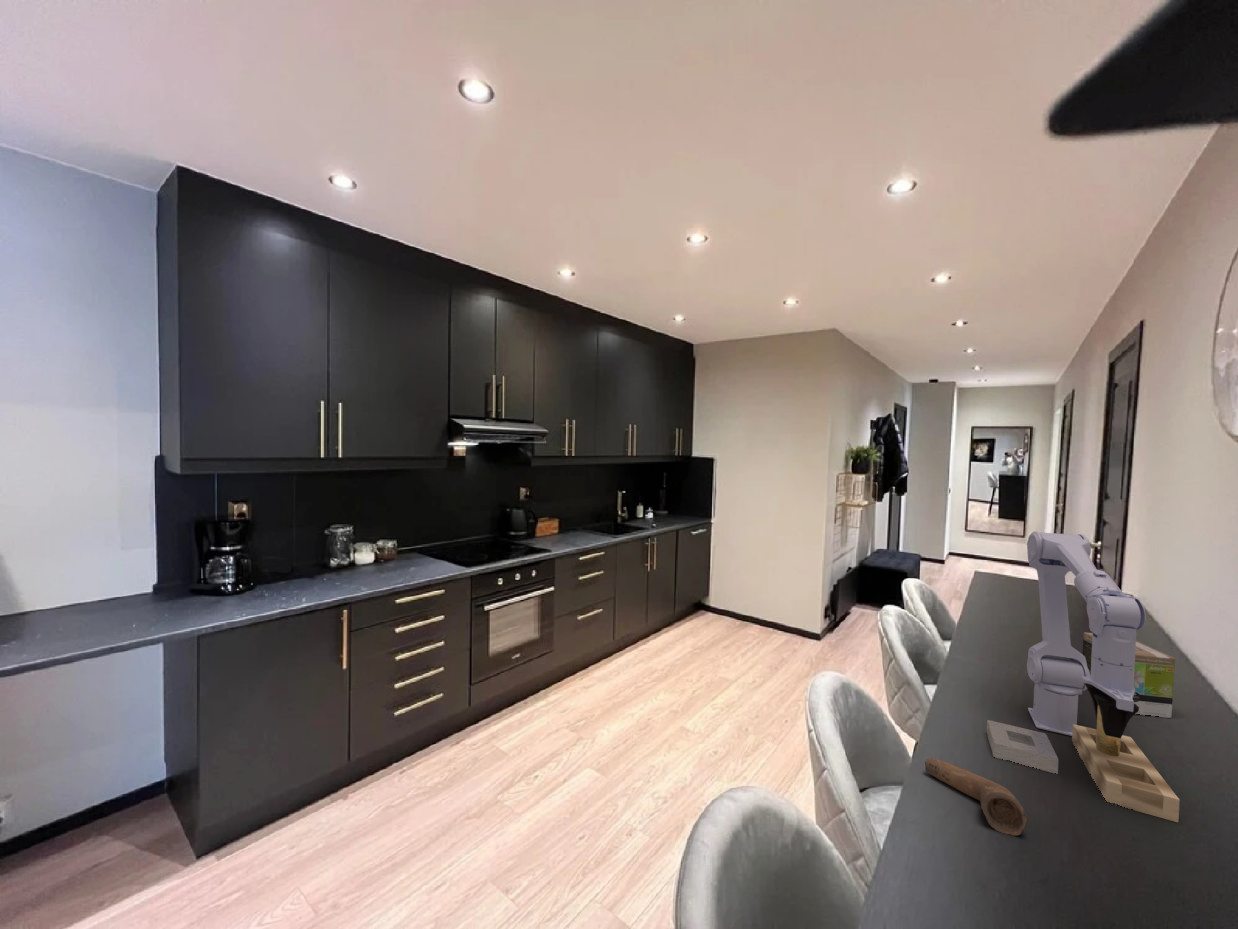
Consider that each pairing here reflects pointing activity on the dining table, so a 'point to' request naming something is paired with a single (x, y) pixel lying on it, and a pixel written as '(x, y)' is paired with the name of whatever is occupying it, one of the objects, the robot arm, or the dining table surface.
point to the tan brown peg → (1106, 740)
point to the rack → (1126, 776)
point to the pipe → (983, 795)
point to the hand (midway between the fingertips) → (1108, 731)
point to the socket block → (1022, 746)
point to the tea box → (1147, 678)
